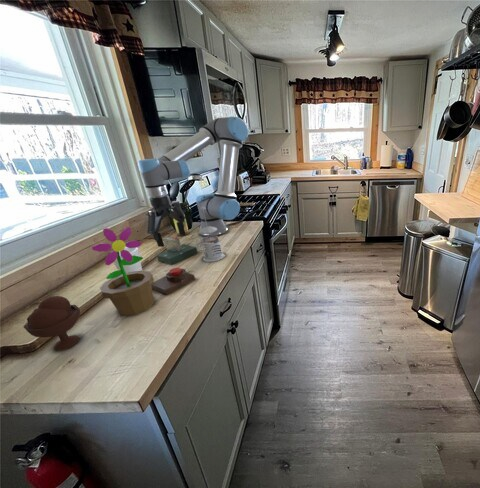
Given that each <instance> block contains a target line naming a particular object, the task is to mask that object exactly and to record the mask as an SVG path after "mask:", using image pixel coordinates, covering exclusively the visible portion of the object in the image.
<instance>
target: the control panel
mask: <svg viewBox="0 0 480 488" xmlns="http://www.w3.org/2000/svg"><path fill="white" fill-rule="evenodd" d="M180 245H181V248H182V252H180V253H173V252H167V250H165V251H163V252H160V253H157V254H156V257H157V261H158V262H162V263H164V264H167V265H173V264H175V263H178V262H180V261H182V260H185V259H187V258H189V257H191V256H193V255H197V254H198V253H199V252H198V247H197V246H193V245H189V244H186V243H182V244H180Z"/></svg>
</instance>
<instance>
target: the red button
mask: <svg viewBox="0 0 480 488" xmlns="http://www.w3.org/2000/svg"><path fill="white" fill-rule="evenodd" d="M181 269H182V268H181V267H174V268H171V269H169V271H168V272H170V275H171V276H176V275H179V274H181V273H182V271H181Z"/></svg>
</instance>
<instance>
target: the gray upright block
mask: <svg viewBox="0 0 480 488" xmlns="http://www.w3.org/2000/svg"><path fill="white" fill-rule="evenodd" d="M163 243H164V246H165V248H166V251H167V252H173V253H180V252H182V248H181V245H182V244H181V241H180V238H179V237H177V236H176V237H175V236H174V237H173V236H166V237H164V238H163Z"/></svg>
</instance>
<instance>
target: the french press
mask: <svg viewBox="0 0 480 488" xmlns="http://www.w3.org/2000/svg"><path fill="white" fill-rule="evenodd" d="M203 209H205V207H201V210H203ZM203 212H204V210H203ZM204 217H205V214H204ZM205 221H206V219H205ZM206 225H207V223H206ZM215 231H217V228H215V227H211V226H209V227H204V228H202V229H201V230H200V229H199V230H198V234H199V236H198V237H197V240H196V242H198V241H199V242H198V243H199V244H196V248H197V250H199V251H201V252H203V255H204V257H203V258H202V260H203V261H204V262H208V263H209V262H210V263H211V262H217V261H218V262H219V261H220V260H222V259H223V258H225V257H226V255H225V253H223V251H222V246H221V241H220V239H219V237H218V236H208V237H205V236H202V235H201V234H210V233H213V232H215Z"/></svg>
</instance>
